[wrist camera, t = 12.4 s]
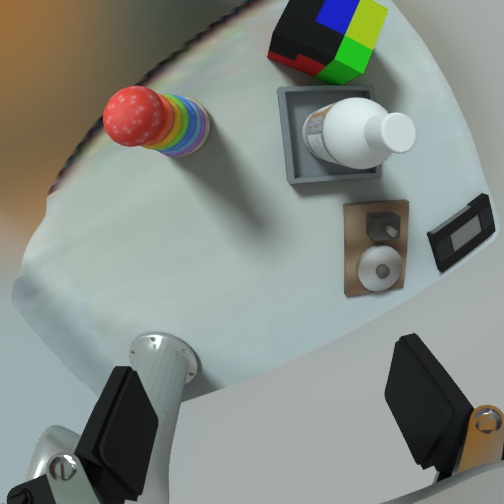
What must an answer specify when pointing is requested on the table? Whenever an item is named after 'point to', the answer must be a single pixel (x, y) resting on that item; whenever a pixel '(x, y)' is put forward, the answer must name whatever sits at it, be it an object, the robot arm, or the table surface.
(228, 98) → the table surface
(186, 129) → the stacking toy
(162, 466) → the robot arm
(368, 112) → the bath foam
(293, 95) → the tray
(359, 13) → the puzzle toy
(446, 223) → the vhs tape
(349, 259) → the board
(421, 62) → the table surface
